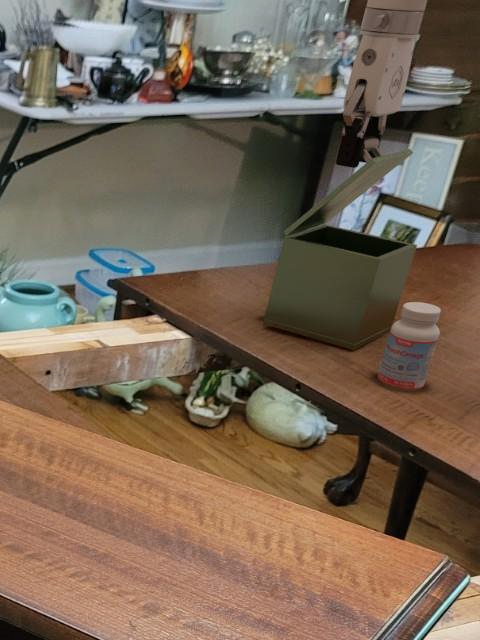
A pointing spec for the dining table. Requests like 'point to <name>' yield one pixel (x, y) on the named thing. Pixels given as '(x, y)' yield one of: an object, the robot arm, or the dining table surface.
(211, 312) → the dining table surface
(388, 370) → the pill bottle
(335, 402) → the dining table surface
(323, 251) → the waste bin
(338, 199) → the bin lid
